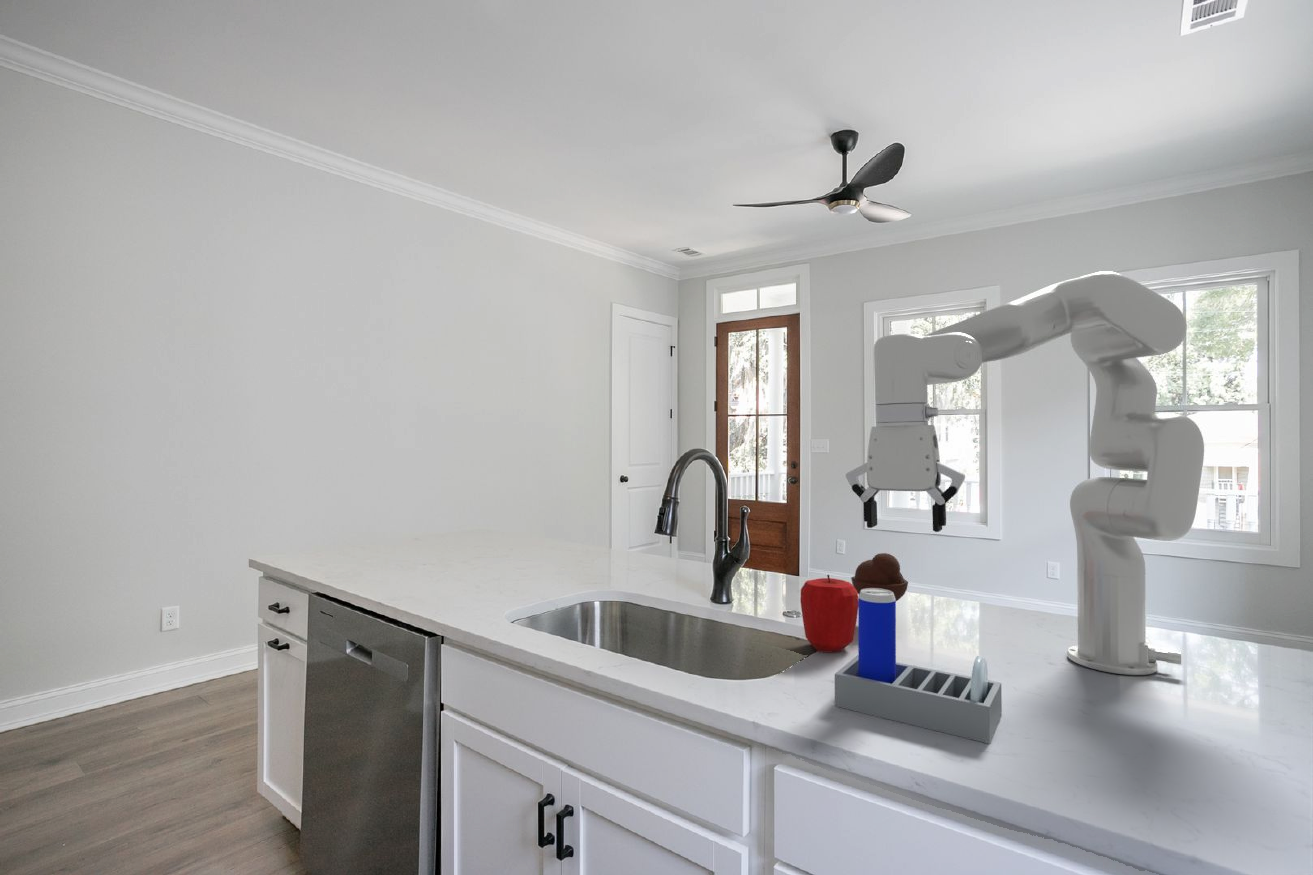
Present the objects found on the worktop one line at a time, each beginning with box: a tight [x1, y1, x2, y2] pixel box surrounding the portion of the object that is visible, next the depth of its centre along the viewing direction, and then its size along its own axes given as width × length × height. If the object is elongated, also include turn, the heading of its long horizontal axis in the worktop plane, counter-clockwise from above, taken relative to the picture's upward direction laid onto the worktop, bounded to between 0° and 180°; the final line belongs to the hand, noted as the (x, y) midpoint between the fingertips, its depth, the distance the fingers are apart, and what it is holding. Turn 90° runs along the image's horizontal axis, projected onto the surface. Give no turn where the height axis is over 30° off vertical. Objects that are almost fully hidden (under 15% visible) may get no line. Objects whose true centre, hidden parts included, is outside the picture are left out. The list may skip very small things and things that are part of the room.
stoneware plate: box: [971, 655, 989, 703], centre depth 87 cm, size 1×8×8 cm, turn 144°
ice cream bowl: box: [850, 552, 909, 602], centre depth 133 cm, size 11×11×15 cm
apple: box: [799, 574, 859, 653], centre depth 119 cm, size 11×10×14 cm
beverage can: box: [857, 588, 897, 684], centre depth 95 cm, size 5×5×15 cm
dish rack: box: [834, 654, 1003, 745], centre depth 91 cm, size 20×10×5 cm, turn 54°
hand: (904, 528), depth 99 cm, fingers open, 9 cm apart
